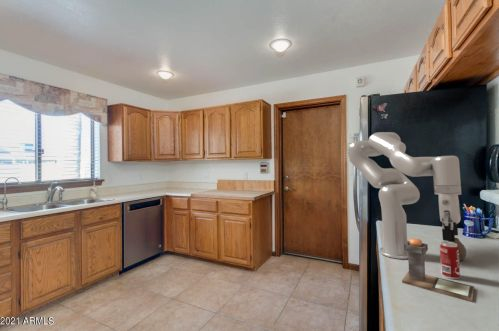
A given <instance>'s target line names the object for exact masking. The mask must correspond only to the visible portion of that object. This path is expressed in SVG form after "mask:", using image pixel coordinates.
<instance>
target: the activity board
mask: <svg viewBox="0 0 499 331" xmlns="http://www.w3.org/2000/svg"><path fill="white" fill-rule="evenodd" d="M404 250H406V251H408V272H407V273H406V274H405V275H404V277H403V278H402V280H401V283H402V284H407V285H409V286H414V287H417V288H419V289H420V288H421V289H424V290H427V291H431V292H435V293H438V294H442V295H445V296H449V297H453V298H457V299H460V300H465V301H468V302H471V303H473V300H474V294H475V286H474V285H470V284H465V283H461V282H457V281H454V280H451V279H445V278H441V277H437V276H434V275H433V276H432V275H428V274H426V263H425V262H426V261H425V255H426V254H427V252H428V251H429V246H428V243H425V242H422V247H417V246H412V245H410V240H407V242H406V243H405V244H404Z"/></svg>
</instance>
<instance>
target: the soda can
mask: <svg viewBox="0 0 499 331" xmlns="http://www.w3.org/2000/svg"><path fill="white" fill-rule="evenodd" d="M439 250H440V251H439V252H440V253H439V254H440V258H439V259H440V273H441V275H442V277H444V278H447V279H448V280H459V279H460V277H461V270H460V261H459V248H458V246H457V244H456V243H453V242H448V241H444V240H443V241H441V242H440V244H439Z"/></svg>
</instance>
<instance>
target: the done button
mask: <svg viewBox="0 0 499 331" xmlns="http://www.w3.org/2000/svg"><path fill="white" fill-rule="evenodd" d="M408 241H410V245H412V246H417V247H422V243H423V240H422V239H421V238H409V239H408Z"/></svg>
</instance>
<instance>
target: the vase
mask: <svg viewBox="0 0 499 331" xmlns="http://www.w3.org/2000/svg"><path fill="white" fill-rule="evenodd" d="M447 242H451V241H447ZM453 243H456V244H457V246H458V248H459V262H460V261H463V260H464V259H465V258H466V257H467V249H466V246H465V245H464V244H463V243H462V241H460V239H459V238H458V237H455V242H453Z"/></svg>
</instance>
